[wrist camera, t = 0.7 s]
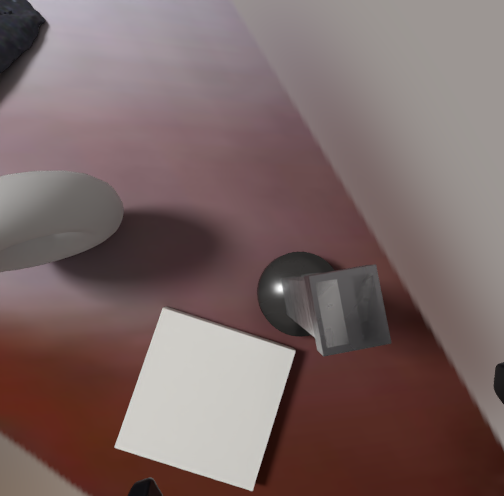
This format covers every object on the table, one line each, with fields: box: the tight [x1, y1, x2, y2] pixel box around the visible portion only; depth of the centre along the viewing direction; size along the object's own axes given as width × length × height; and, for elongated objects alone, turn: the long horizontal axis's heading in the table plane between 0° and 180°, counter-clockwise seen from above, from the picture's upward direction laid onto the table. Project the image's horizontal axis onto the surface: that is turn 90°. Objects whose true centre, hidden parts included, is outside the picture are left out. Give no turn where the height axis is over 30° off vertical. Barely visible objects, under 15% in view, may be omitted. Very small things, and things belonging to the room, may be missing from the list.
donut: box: [0, 171, 124, 272], centre depth 20 cm, size 10×3×10 cm, turn 111°
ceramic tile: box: [114, 307, 296, 491], centre depth 24 cm, size 10×10×1 cm
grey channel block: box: [257, 252, 391, 356], centre depth 19 cm, size 6×6×12 cm
